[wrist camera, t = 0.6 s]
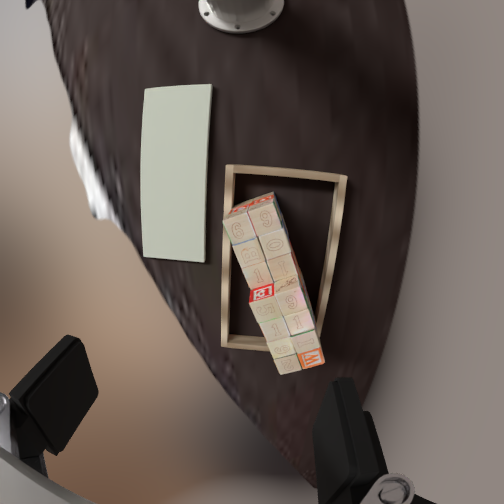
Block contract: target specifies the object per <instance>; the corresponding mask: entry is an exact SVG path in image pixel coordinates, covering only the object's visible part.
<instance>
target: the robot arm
mask: <svg viewBox="0 0 504 504" xmlns="http://www.w3.org/2000/svg"><path fill="white" fill-rule="evenodd" d="M283 6H284V0H199V11H200V14H201V16H202V18H203V19H204V20H205V22H206V23H207V24H209V25H210V26H211V27H213V28H215V29H217V30H220V31H223V32H227V33H239V34H241V33H249V32H254V31H257V30H260V29H263V28H265V27H267V26H268V25H270V24H272V23H273V22H274V21H275V20H276V19H277V18H278V17H279V16H280V14H281V12H282V10H283ZM272 15H274V16H272ZM237 28H240V29H237ZM9 395H10V396H11V398H10V399H8V397H7V396H6V395H5V394H3V393H1V392H0V504H96V503H93V502H91V501H89V500H87V499H85V498H83V497H81V496H79V495H77V494H75V493H73V492H71V491H69V490H67V489H65V488H64V487H62V486H60V485H58V484H57V483H55V482H53V481H52V480H50V479H49V478H48V474H47V469H46V465H45V460H44V454H43V451H44V450H45V449H46V450H47V451H48V452H50V453H52V454H54V455H56V456H57V455H58V453H59V452H61V451H63V450H64V448H65V446H66V445H67V443H68V442H69V440H70V438H71V437H72V435H73V434H74V432H75V431H76V429H77V427H78V426H79V424H80V422H81V421H82V419H83V418H84V416H85V415H86V413H87V412H88V410H89V408H90V407H91V406H92V404H93V403H94V401H95V400H96V398H97V396H98V388H97V385H96V382H95V379H94V376H93V373H92V370H91V367H90V364H89V360H88V357H87V354H86V351H85V347H84V345H83V343H82V342H81V340H80V339H79V338H77V337H73V336H71V335H66V336H64V337H63V338H62V339H61V340H60V341H59V342H58V343H57V344H56V345H55V346H54V347H53V348H52V349H51V350H50V351H49V352H48V353H47V354H46V355H45V356H44V357H43V358H42V359H41V360H40V361H39V362H38V363H37V364H36V365H35V366H34V367H33V368H32V369H31V370H30V371H29V372H28V374H27V375H25V377H24V378H23V379H22V380H21V381H20V382H19V383H18V384H17V385H16V386H15V387H14V388H13V389H12V391H11V392H10V393H9ZM312 434H313V444H314V455H315V465H316V477H317V489H318V502H319V504H436V503H433V502H431V501H429V500H426V499H424V498H422V497H420V496H418V495H416V494H414V493H415V491H414V485H413V483H412V481H411V480H410V479H409V478H408V477H406V476H404V475H402V474H398V473H390V474H389V473H388V470H387V466H386V462H385V459H384V456H383V452H382V448H381V445H380V441H379V438H378V435H377V432H376V429H375V425H374V422H373V419H372V416H371V414H370V412H368V411H363V410H362V407H361V403H360V400H359V397H358V393H357V390H356V387H355V384H354V381H353V379H352V378H335V380H334V382H330V383H329V385H328V388H327V391H326V394H325V396H324V399H323V402H322V405H321V407H320V410H319V412H318V415H317V418H316V420H315V423H314V425H313V431H312Z"/></svg>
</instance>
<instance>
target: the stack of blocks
mask: <svg viewBox="0 0 504 504" xmlns="http://www.w3.org/2000/svg"><path fill="white" fill-rule="evenodd" d="M222 222H223V225H224V227H225V229H226V232H227V234H228V237H229V239H230V241H231V243H232V247H233V250H234V252H235V254H236V257H237V259H238V262H239V264H240V266H241V268H242V272H243V274H244V276H245V279H246V281H247V283H248V285H249V287H250V289H251V291H250V298H249V304H250V306H251V309H252V311H253V313H254V315H255V318H256V320H257V322H258V323H259V325H260V327H261V330H262V332H263V334H264V336H265V339H266V342H267V345H268V347H269V350H270V352H271V354H272V356H273V358H274V362H275V364H276V366H277V369H278V371H279V373H280V374H281V375H282V374H286V373H290V372H294V371H299V370H302V368H303V369H306V368H310V367H313V366H317V365H320V364H323V363H325V360H324V356H323V352H322V347H321V343H320V338H319V335H318V332H317V328H316V322H315V318H314V315H313V311H312V307H311V303H310V299H309V296H308V292H307V289H306V286H305V282H304V279H303V276H302V273H301V269H300V268H299V266H298V263H297V259H296V256H295V253H294V251H293V249H292V245H291V242H290V239H289V235H288V230H287V227H286V224H285V221H284V218H283V215H282V212H281V211H280V208H279V205H278V202H277V199H276V196H275V194H274V192H271V193H268V194H265V195H262V196H260V197H257V198H254V199H250V200H247V201H245V202H242V203H239V204H237V205H235V206H233V208H232V210H230V212H229V213H228V215H227V216H226V217H225V218H224V220H223V221H222Z"/></svg>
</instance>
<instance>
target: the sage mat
mask: <svg viewBox="0 0 504 504" xmlns="http://www.w3.org/2000/svg"><path fill="white" fill-rule="evenodd" d="M212 88H213V86H212V85H211V84H203V85H183V86H169V87H158V88H149V89H145V95H144V106H143V120H142V138H141V221H142V240H143V255H144V257H152V258H163V259H173V260H184V261H195V262H205V256H206V196H207V169H208V147H209V130H210V114H211V100H212Z"/></svg>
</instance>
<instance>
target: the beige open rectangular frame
mask: <svg viewBox="0 0 504 504" xmlns="http://www.w3.org/2000/svg"><path fill="white" fill-rule="evenodd" d="M235 173H245V174H260V175H274V176H285V177H296V178H306V179H315V180H324V181H332V182H335V187H334V196H333V204H332V212H331V220H330V227H329V234H328V241H327V248H326V254H325V261H324V267H323V273H322V278H321V284H320V290H319V295H318V300H317V306H316V311H315V316H314V318H315V322H316V328H317V332H318V335H319V337H320V333H321V329H322V325H323V320H324V316H325V311H326V306H327V302H328V297H329V292H330V287H331V282H332V276H333V271H334V265H335V260H336V254H337V248H338V242H339V235H340V229H341V222H342V215H343V207H344V199H345V191H346V183H347V176H345V175H342V174H334V173H326V172H318V171H309V170H300V169H290V168H279V167H266V166H251V165H233V164H228V165H226V175H225V196H224V218H225V217H226V216H227V215H228V213H229V212H230V210H232V208H233V206H234V191H235ZM231 258H232V243H231V241H230V239H229V237H228V234H227V232H226V229H225V227H224V225H223V253H222V301H221V347H229V348H238V349H249V350H261V351H270V350H269V347H268V345H267V342H266V339H265V337H255V336H243V335H233V334H229V319H230V286H231Z"/></svg>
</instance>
